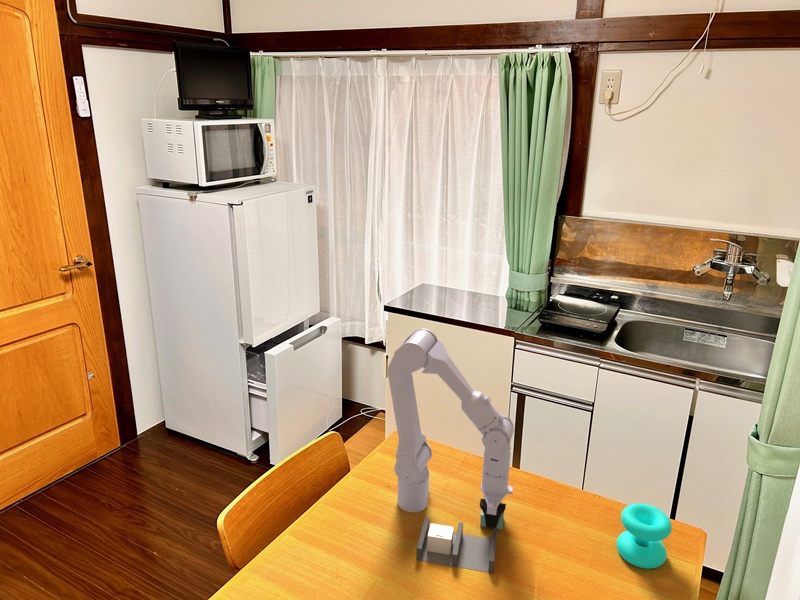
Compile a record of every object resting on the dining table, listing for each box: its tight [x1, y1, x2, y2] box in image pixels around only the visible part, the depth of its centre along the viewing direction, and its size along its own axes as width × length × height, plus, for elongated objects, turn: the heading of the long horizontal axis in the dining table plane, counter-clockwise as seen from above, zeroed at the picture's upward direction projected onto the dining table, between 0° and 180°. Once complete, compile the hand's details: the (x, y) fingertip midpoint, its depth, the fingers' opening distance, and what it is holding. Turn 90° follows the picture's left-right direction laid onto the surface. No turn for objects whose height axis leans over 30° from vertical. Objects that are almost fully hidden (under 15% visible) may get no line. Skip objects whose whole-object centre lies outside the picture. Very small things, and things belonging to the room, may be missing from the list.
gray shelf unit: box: [415, 516, 499, 574], centre depth 128 cm, size 10×16×4 cm, turn 77°
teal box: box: [479, 509, 505, 530], centre depth 136 cm, size 4×5×4 cm
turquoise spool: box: [616, 503, 673, 569], centre depth 128 cm, size 10×10×10 cm
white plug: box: [427, 522, 455, 555], centre depth 129 cm, size 4×5×4 cm
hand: (492, 520), depth 137 cm, fingers closed on teal box, 4 cm apart
